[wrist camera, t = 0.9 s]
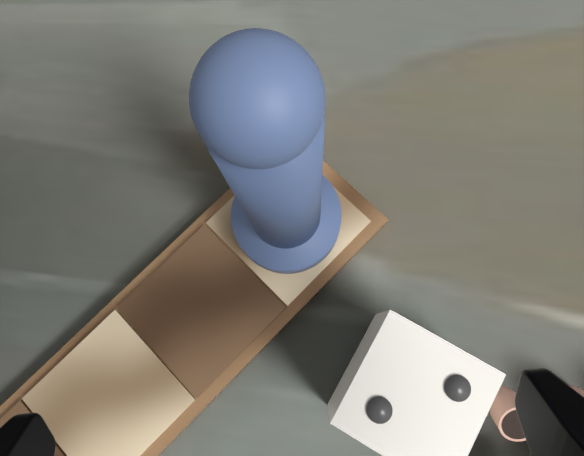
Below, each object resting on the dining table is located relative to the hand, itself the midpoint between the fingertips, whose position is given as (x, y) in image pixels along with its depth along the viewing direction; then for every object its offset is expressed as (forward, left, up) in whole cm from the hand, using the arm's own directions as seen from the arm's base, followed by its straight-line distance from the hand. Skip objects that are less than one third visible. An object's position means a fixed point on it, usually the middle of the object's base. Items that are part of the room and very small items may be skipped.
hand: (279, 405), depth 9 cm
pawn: (+5, -4, -12) cm, 13 cm away
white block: (-4, -2, -13) cm, 13 cm away
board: (+5, +4, -12) cm, 14 cm away
